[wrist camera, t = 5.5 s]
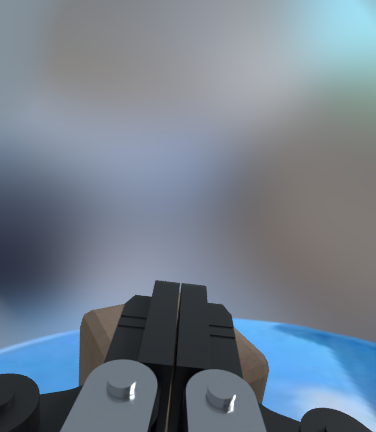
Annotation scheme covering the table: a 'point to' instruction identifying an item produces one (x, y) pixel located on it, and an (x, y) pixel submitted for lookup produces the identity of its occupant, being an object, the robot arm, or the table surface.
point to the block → (108, 319)
